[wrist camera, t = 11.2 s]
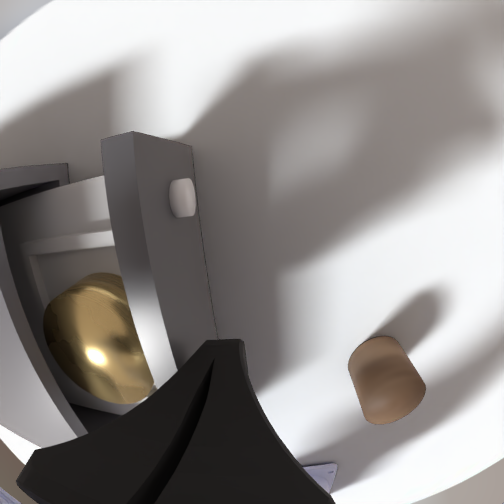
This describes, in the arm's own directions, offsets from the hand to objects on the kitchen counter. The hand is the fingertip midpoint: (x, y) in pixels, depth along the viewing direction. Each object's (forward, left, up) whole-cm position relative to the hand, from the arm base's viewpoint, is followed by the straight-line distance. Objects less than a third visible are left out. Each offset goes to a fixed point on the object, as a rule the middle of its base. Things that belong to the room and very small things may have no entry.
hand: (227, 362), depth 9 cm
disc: (0, +6, -2) cm, 6 cm away
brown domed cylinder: (-4, -7, -4) cm, 9 cm away
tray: (0, +7, -4) cm, 8 cm away
